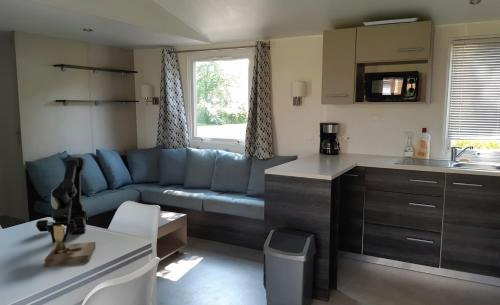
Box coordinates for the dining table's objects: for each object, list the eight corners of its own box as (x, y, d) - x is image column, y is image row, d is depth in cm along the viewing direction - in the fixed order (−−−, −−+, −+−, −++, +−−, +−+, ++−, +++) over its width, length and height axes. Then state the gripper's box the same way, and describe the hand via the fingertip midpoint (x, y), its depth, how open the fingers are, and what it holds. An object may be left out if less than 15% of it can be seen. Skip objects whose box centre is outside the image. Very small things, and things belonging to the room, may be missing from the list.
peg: (66, 254, 160) (63, 223, 158) (67, 257, 156) (65, 226, 155) (54, 256, 158) (52, 225, 156) (55, 260, 154) (53, 227, 152)
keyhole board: (45, 266, 148) (44, 259, 148) (56, 251, 164) (55, 245, 163) (88, 262, 152) (88, 255, 152) (95, 248, 167) (95, 241, 167)
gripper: (35, 202, 156) (28, 236, 146) (82, 199, 160) (78, 231, 151) (42, 215, 164) (36, 247, 155) (87, 211, 168) (84, 243, 159)
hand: (59, 242), depth 155 cm, fingers closed on peg, 4 cm apart
